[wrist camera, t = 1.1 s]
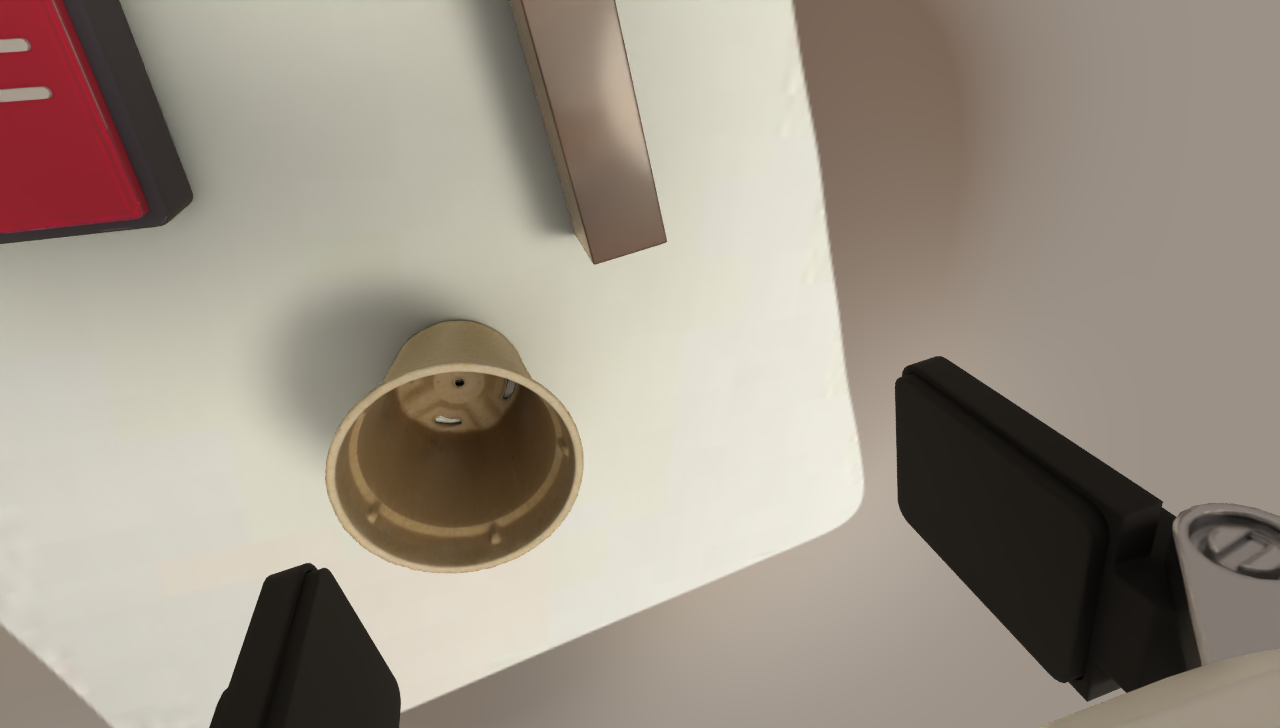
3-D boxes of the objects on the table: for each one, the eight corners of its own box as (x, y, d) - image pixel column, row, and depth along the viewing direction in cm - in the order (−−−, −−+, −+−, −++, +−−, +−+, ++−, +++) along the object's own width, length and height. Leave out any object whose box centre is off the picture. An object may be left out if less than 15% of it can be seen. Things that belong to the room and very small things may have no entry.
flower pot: (329, 302, 30) (288, 392, 22) (540, 269, 32) (568, 343, 24) (383, 473, 34) (363, 598, 27) (565, 436, 36) (596, 544, 28)
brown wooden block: (453, -192, 24) (454, -238, 20) (541, -211, 24) (558, -261, 20) (575, 235, 31) (593, 265, 27) (640, 216, 32) (667, 242, 28)
